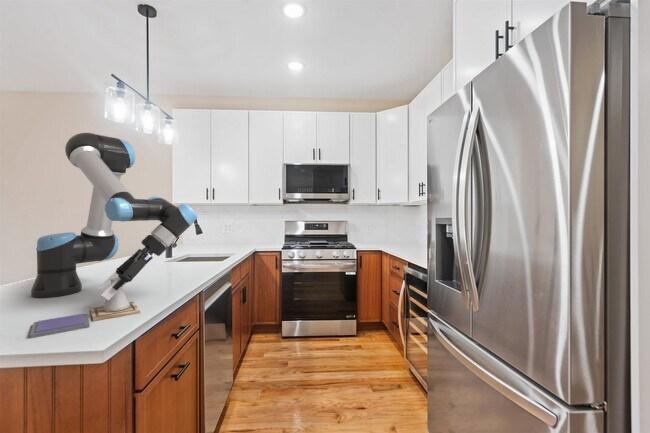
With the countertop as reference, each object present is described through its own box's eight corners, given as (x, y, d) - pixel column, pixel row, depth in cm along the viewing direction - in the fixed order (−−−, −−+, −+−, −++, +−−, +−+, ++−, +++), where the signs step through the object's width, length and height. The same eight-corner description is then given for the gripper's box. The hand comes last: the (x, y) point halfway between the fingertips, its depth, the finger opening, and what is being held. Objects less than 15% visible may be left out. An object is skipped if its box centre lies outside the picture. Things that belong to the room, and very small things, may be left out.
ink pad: (34, 324, 87) (34, 320, 87) (87, 315, 95) (87, 312, 95) (29, 338, 78) (29, 333, 78) (89, 327, 86) (89, 322, 86)
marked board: (90, 309, 101) (90, 307, 101) (133, 302, 109) (133, 300, 109) (93, 321, 90) (93, 319, 90) (140, 312, 98) (140, 310, 98)
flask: (116, 313, 95) (116, 281, 95) (96, 311, 97) (96, 280, 97) (135, 306, 102) (134, 276, 102) (116, 305, 104) (116, 275, 104)
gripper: (175, 251, 100) (117, 309, 90) (159, 245, 118) (109, 293, 108) (157, 235, 97) (94, 294, 87) (143, 232, 114) (90, 280, 104)
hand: (103, 293), depth 97 cm, fingers open, 10 cm apart
